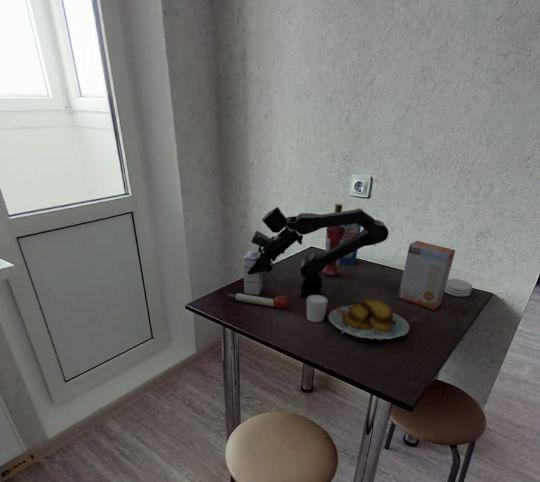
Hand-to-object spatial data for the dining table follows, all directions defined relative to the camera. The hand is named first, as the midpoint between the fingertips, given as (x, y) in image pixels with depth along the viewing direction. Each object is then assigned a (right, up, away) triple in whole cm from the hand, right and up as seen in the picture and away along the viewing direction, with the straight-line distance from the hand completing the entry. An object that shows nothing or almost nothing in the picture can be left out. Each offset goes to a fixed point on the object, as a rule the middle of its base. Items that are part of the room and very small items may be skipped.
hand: (249, 270), depth 146 cm
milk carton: (+40, +9, +35) cm, 54 cm away
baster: (+3, -12, -4) cm, 14 cm away
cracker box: (+62, -11, +2) cm, 63 cm away
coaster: (+79, -7, +11) cm, 81 cm away
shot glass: (+22, -18, -12) cm, 31 cm away
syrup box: (+1, -7, +4) cm, 9 cm away
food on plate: (+39, -21, -16) cm, 47 cm away
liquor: (+32, +2, +22) cm, 39 cm away
